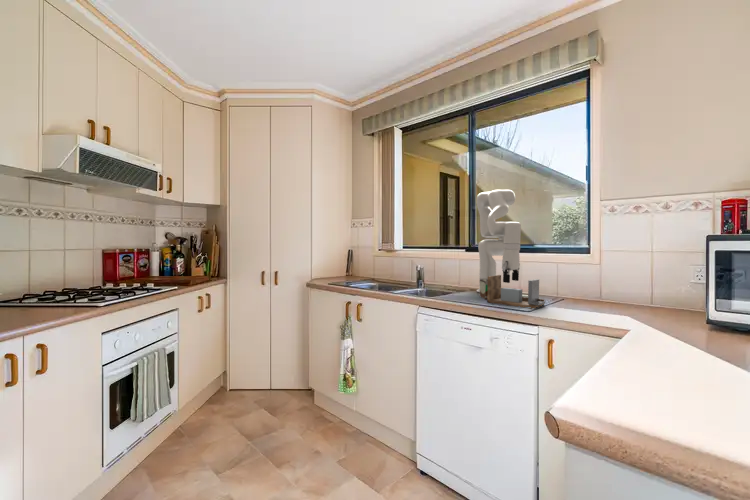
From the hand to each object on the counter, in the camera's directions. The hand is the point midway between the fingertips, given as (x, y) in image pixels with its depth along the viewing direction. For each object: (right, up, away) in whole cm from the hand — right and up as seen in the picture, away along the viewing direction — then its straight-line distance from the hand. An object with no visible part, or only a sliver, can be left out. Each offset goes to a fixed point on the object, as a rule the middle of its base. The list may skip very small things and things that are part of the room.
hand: (510, 281), depth 173 cm
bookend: (+8, -10, -10) cm, 16 cm away
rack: (+1, -11, -2) cm, 11 cm away
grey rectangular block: (0, -10, -1) cm, 10 cm away
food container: (-6, -11, +16) cm, 20 cm away
